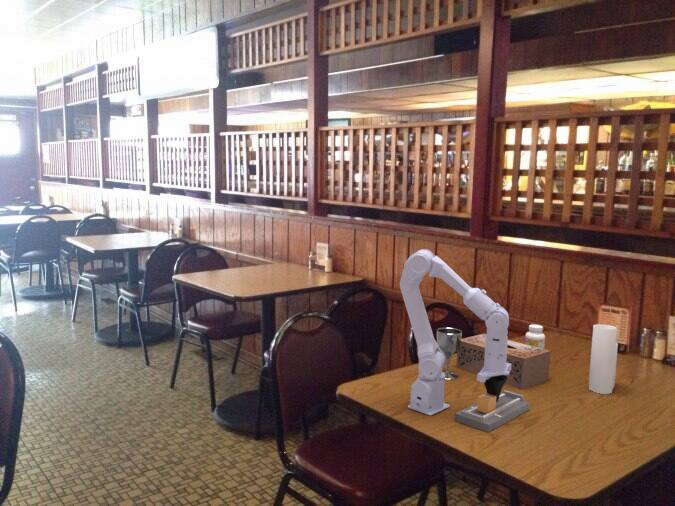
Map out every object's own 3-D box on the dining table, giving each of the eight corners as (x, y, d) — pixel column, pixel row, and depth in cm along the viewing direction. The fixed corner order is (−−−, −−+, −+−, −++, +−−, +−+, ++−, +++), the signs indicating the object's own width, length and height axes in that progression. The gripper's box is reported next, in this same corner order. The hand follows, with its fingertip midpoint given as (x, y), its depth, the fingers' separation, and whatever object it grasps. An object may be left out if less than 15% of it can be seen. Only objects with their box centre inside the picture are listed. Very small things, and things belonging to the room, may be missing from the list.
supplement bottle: (519, 359, 209) (521, 324, 207) (533, 357, 211) (536, 323, 210) (533, 365, 203) (535, 329, 201) (547, 363, 205) (550, 327, 204)
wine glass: (431, 377, 188) (433, 331, 186) (439, 370, 195) (441, 326, 193) (455, 381, 185) (457, 335, 183) (462, 374, 192) (464, 329, 190)
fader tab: (487, 414, 153) (488, 399, 153) (477, 410, 155) (477, 396, 155) (495, 410, 156) (496, 395, 155) (485, 406, 158) (485, 392, 158)
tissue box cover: (548, 381, 188) (550, 350, 186) (522, 390, 179) (524, 358, 177) (482, 360, 207) (484, 333, 206) (456, 368, 198) (457, 339, 197)
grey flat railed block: (487, 432, 147) (488, 420, 147) (454, 420, 154) (454, 408, 154) (529, 409, 163) (530, 397, 163) (497, 399, 170) (498, 388, 169)
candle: (611, 395, 174) (616, 330, 172) (585, 391, 178) (590, 327, 176) (615, 384, 184) (620, 323, 182) (590, 380, 188) (595, 319, 185)
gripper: (495, 361, 148) (492, 413, 150) (522, 350, 158) (519, 398, 160) (471, 355, 153) (468, 405, 155) (499, 345, 163) (496, 391, 165)
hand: (493, 401), depth 158 cm, fingers closed
